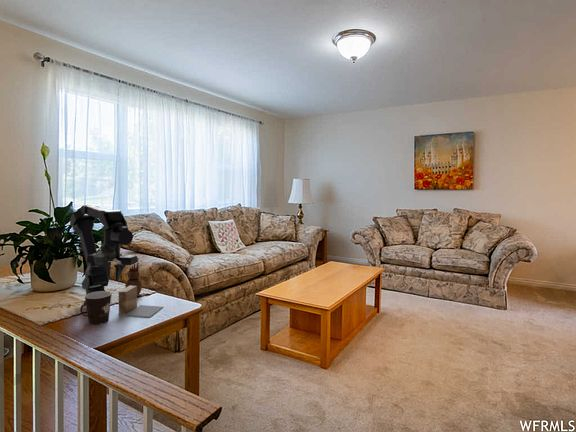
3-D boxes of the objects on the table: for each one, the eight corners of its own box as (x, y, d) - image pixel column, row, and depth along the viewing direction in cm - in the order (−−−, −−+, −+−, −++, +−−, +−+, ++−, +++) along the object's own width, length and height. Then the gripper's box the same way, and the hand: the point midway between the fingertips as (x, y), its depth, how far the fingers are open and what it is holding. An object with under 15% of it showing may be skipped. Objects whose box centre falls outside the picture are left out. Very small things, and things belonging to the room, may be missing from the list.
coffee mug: (105, 314, 134) (105, 289, 133) (116, 321, 128) (115, 294, 128) (72, 323, 125) (71, 296, 124) (81, 330, 120) (81, 302, 119)
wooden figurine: (144, 293, 160) (144, 261, 159) (137, 297, 155) (137, 264, 153) (130, 292, 161) (130, 260, 160) (123, 296, 155) (122, 263, 154)
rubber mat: (125, 315, 134) (125, 314, 134) (140, 305, 144) (140, 305, 144) (149, 317, 133) (149, 316, 132) (163, 307, 143) (163, 306, 143)
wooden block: (118, 313, 135) (118, 291, 135) (129, 306, 143) (129, 285, 143) (126, 314, 135) (125, 292, 134) (137, 307, 143) (136, 286, 142)
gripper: (75, 243, 130) (76, 284, 132) (122, 246, 128) (123, 287, 130) (95, 239, 141) (95, 276, 143) (138, 241, 139) (138, 279, 141)
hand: (112, 280), depth 139 cm, fingers open, 4 cm apart
